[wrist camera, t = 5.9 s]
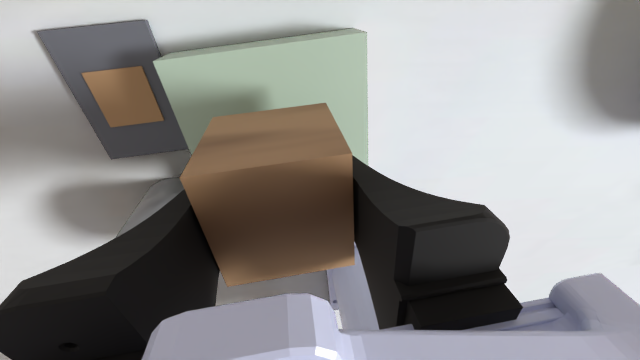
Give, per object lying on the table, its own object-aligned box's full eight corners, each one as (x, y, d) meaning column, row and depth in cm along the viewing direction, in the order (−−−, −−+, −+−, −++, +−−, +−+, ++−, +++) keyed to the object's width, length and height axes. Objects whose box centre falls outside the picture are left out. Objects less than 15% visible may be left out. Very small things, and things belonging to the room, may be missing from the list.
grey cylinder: (224, 230, 22) (212, 283, 17) (156, 235, 21) (127, 292, 17) (212, 175, 19) (195, 223, 15) (134, 179, 18) (93, 230, 14)
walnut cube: (332, 192, 15) (354, 264, 11) (240, 206, 15) (227, 286, 10) (326, 102, 12) (352, 153, 8) (212, 117, 12) (179, 177, 8)
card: (194, 145, 18) (193, 148, 17) (113, 157, 17) (110, 160, 17) (147, 19, 14) (144, 20, 13) (41, 30, 13) (35, 31, 13)
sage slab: (357, 175, 21) (368, 198, 19) (226, 196, 20) (219, 223, 18) (351, 27, 16) (366, 32, 13) (172, 51, 15) (152, 61, 12)
